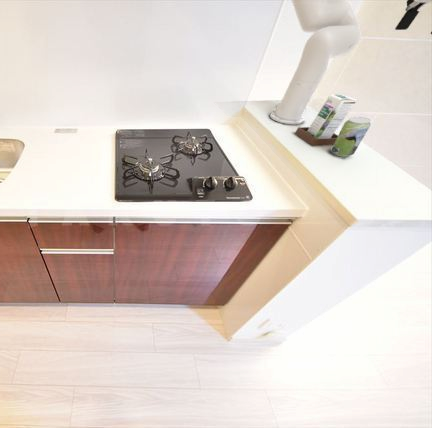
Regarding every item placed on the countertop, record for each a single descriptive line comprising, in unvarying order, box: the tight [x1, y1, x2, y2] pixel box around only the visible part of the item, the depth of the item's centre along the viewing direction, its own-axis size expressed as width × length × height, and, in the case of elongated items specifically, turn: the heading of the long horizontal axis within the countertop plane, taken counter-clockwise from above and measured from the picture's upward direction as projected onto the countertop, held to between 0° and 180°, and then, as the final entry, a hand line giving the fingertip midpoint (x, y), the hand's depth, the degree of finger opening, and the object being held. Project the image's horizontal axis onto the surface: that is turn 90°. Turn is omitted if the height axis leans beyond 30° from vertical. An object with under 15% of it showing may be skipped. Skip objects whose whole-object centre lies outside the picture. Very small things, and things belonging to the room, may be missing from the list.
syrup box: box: [307, 93, 358, 139], centre depth 81 cm, size 6×6×14 cm
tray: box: [294, 126, 339, 147], centre depth 86 cm, size 10×10×2 cm
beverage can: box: [330, 116, 371, 157], centre depth 75 cm, size 6×7×12 cm
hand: (417, 31), depth 62 cm, fingers open, 9 cm apart
